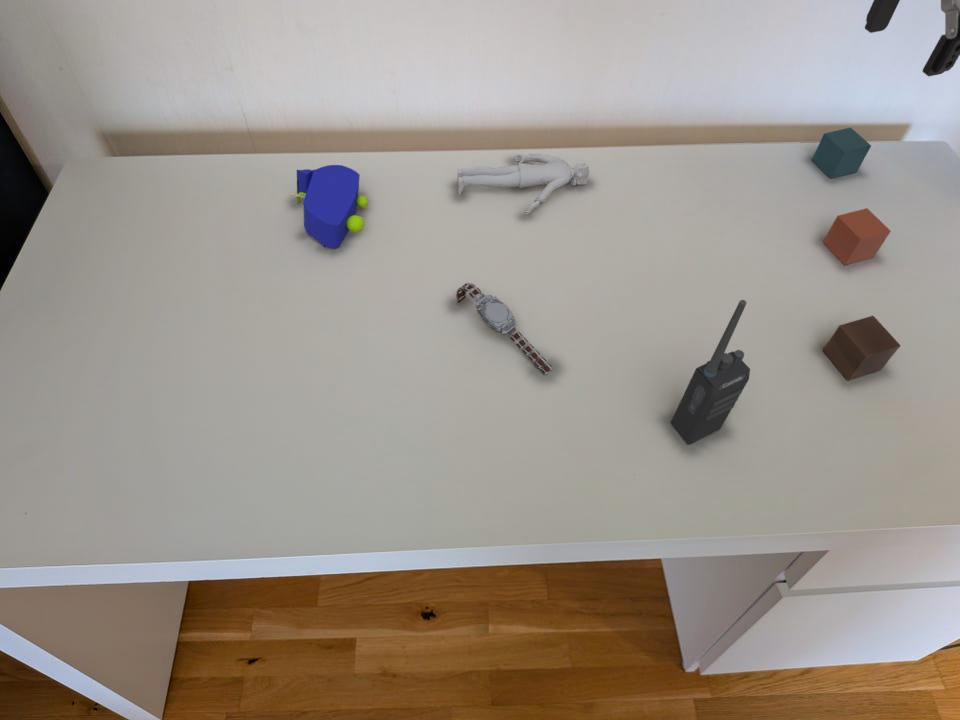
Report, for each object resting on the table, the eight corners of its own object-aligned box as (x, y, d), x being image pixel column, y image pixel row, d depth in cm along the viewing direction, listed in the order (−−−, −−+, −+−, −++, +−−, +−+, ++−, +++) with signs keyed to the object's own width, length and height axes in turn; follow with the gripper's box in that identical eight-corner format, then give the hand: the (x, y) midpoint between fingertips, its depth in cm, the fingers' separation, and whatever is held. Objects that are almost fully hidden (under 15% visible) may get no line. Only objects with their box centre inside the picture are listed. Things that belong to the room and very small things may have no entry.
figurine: (461, 218, 90) (595, 211, 91) (461, 195, 87) (599, 188, 88) (455, 165, 97) (579, 160, 99) (454, 143, 94) (582, 137, 96)
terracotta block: (851, 234, 89) (867, 207, 85) (874, 257, 86) (891, 230, 83) (822, 242, 88) (837, 215, 84) (844, 265, 85) (860, 239, 82)
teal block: (837, 154, 99) (850, 127, 95) (856, 172, 97) (871, 145, 93) (811, 160, 98) (823, 133, 95) (830, 179, 96) (844, 152, 92)
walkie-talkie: (687, 448, 69) (751, 322, 53) (667, 423, 71) (724, 294, 55) (724, 430, 71) (797, 302, 55) (704, 406, 73) (769, 275, 57)
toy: (357, 191, 95) (288, 194, 92) (359, 159, 91) (286, 161, 88) (375, 253, 89) (301, 259, 86) (378, 222, 85) (301, 227, 82)
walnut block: (854, 340, 78) (873, 315, 74) (880, 370, 76) (901, 345, 72) (822, 350, 77) (839, 325, 74) (847, 381, 75) (866, 356, 71)
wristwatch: (466, 291, 82) (474, 269, 78) (548, 378, 80) (561, 361, 75) (444, 306, 81) (451, 285, 76) (526, 396, 78) (539, 379, 74)
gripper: (1116, -121, 50) (986, 82, 63) (976, -180, 58) (886, 11, 71) (1036, -108, 49) (919, 96, 62) (903, -170, 57) (825, 22, 70)
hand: (902, 50), depth 67 cm, fingers open, 8 cm apart
